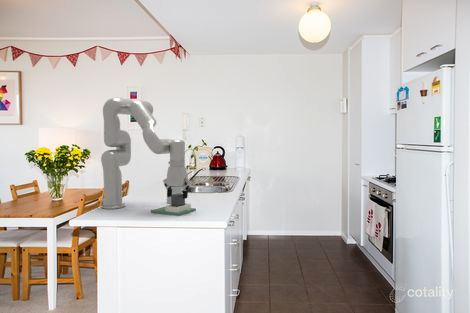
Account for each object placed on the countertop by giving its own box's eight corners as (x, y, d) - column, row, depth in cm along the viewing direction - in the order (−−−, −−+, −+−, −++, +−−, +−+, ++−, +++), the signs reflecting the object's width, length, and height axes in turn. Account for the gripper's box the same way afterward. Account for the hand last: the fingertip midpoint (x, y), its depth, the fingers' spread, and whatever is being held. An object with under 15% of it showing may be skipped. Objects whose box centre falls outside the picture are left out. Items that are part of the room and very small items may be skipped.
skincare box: (166, 204, 217) (166, 178, 216) (168, 202, 223) (167, 177, 222) (181, 203, 217) (180, 178, 216) (182, 201, 223) (182, 176, 222)
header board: (150, 212, 192) (150, 205, 192) (168, 207, 205) (167, 201, 204) (179, 215, 184) (179, 208, 184) (195, 210, 196) (195, 203, 196)
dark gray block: (171, 210, 191) (171, 194, 191) (179, 208, 197) (179, 193, 197) (177, 211, 189) (177, 195, 189) (185, 208, 195) (185, 193, 195)
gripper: (159, 163, 192) (159, 197, 193) (187, 165, 184) (187, 200, 185) (168, 162, 199) (168, 195, 200) (195, 164, 191) (195, 198, 192)
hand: (177, 197), depth 193 cm, fingers open, 9 cm apart
